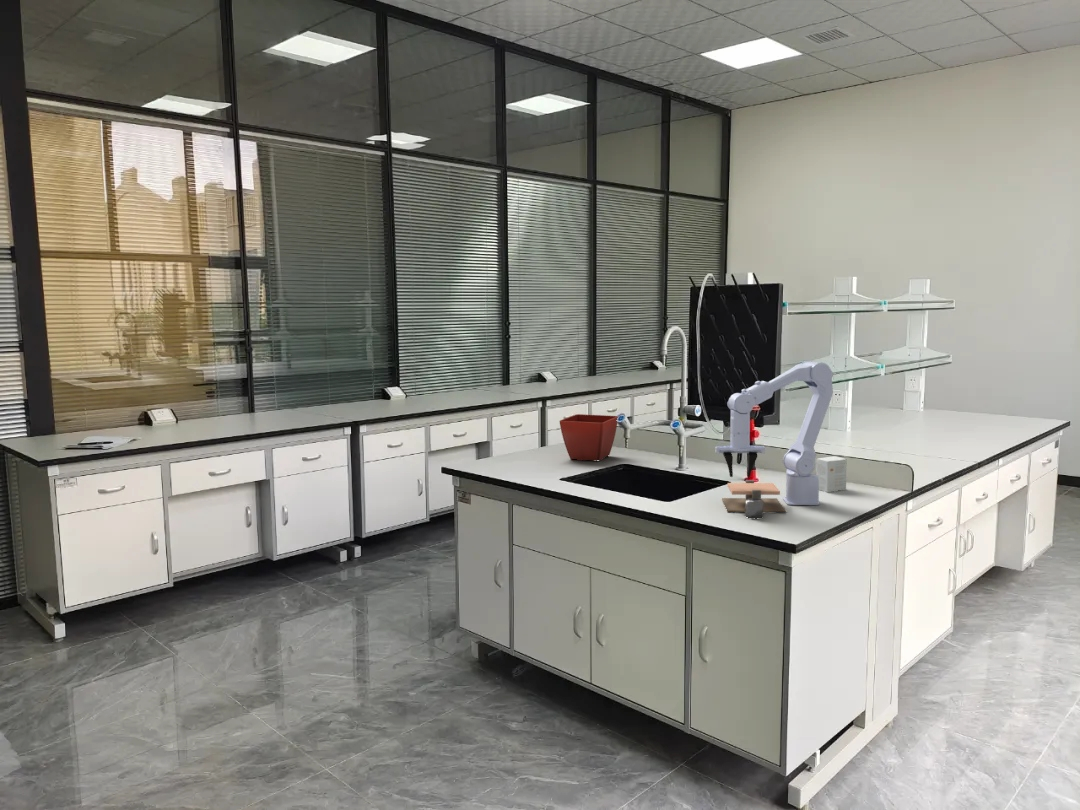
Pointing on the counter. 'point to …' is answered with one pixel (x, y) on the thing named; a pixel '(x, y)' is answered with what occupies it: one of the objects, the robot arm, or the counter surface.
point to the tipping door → (753, 488)
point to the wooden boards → (739, 503)
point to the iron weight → (754, 508)
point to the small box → (831, 473)
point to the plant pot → (588, 435)
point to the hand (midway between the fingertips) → (739, 476)
